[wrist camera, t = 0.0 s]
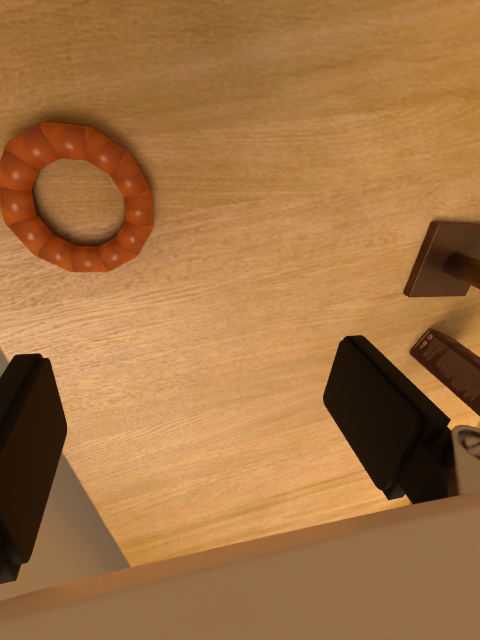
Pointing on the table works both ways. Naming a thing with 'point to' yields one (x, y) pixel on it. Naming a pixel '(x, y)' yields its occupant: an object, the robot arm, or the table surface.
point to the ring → (82, 144)
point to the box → (451, 366)
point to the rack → (447, 261)
